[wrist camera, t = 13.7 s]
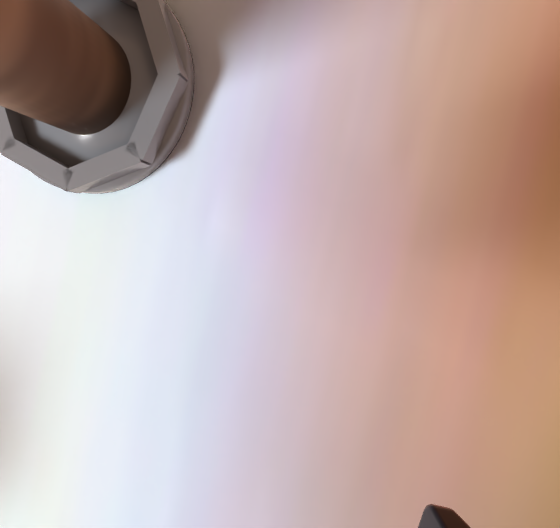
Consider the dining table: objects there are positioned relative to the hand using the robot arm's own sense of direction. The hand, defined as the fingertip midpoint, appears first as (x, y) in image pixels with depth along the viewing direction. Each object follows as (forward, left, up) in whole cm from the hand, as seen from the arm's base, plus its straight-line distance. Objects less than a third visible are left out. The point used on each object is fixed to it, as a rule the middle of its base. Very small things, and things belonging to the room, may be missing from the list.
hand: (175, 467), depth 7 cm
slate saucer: (+14, -6, -11) cm, 19 cm away
